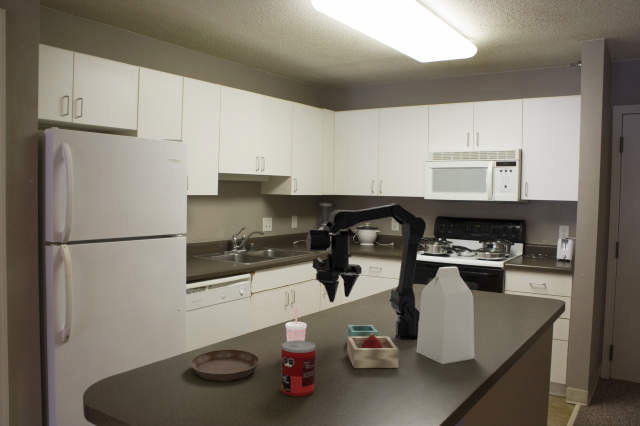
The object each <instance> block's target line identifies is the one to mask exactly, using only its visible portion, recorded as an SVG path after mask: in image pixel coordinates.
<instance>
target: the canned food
mask: <svg viewBox="0 0 640 426" xmlns="http://www.w3.org/2000/svg"><path fill="white" fill-rule="evenodd" d="M316 348H317V347H316V344H315V343H313V342H310V341H308V340H307V341H306V340H305V341H288V342H287V341H285V342H283V343H282V345H281V358H280V359H281V360H280V361H281V363H280V364H281V365H280V366H281V367H280V370H281V371H280V389H281V392H282V393H283V394H285V395H286V394H287V396H291V397H305V396H310V395H311V394H312V393H313V392H314V390H315V382H316V381H315V378H316V377H315V376H316Z"/></svg>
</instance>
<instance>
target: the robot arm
mask: <svg viewBox="0 0 640 426" xmlns="http://www.w3.org/2000/svg"><path fill="white" fill-rule="evenodd" d="M386 218H392V219H393V220H394V221H395V222H396V223H397V224H399V225H400V227H401V236H402V239H403V240H402V241H403V246H402V247H403V248H402V253H401V254H402V256H401V261H400V262H401V263H400V272H399V277H398V278H399V279H398V284H397V287H396V288H395V289H391V291H390V299H389V303H390V304H391V308H392V309H393V310H394V311H395V314H396V316H397V320H396V322H395V335H397V337H398V338H399V339H400V340H408V339H409V340H412V339H414V340H417V339H418V328H419V317H420V310H418V308H417V307H416V295H415V293H414V280H415V272H416V265H417V257H418V250H419V249H418V248H419V245H420V242H421V241H422V240H423V238H424V236H425V231H426V228H427V223H426V221H425V220H424V219H423V218H422V217H420V216H416V215H414V213H412V212H410V211H408V210H407V209H405V208H404V207H403V206H402V205H400V204H398V203H389V204H386V205H381V206H375V207H368V208H364V209H358V210H356V209H355V210H348V209H345V210H343V209H335V210H333V211H331V213H330V215H329V217H328V221H327V222H326V224H324V227H323V228H322V229H312V228H309V229H308V232H307V236H306V239H305V242H306V243H305V244H306V249H307V251H308V252H325V251H327V250H328V249H330V253H328V254H327V255H326V258H324V259H321V257H316V258H313V259H312V268H313V269H314V270H316V271H315V272H316V273H315V281H318V283H321V285H323V286H324V288H325V291H326V294H327V297H328V301H329V303H334V302H335V298H336V295H337V292H338V288H339V284H340V281H339V278H340V277H341V278H342V280H343V291H344V297H346V298H349V296H350V294H351V292H352V290H353V288H354V286H355V285H356V284H355V283H356V282H357V280H358V278H359V277H360V275H361V274H362V272H363V271H362V267H361V265H360V264H355V263H349V261H350V260H349V259H350V258H351V257H352V253H350V250H349V249H350V248H349V247H350V237H356V233H355V232H354V231H353V230H352V229H351V228H352V227H354V226H356V225H358V224H361V223H363V222H369V221H376V220H380V219H386Z"/></svg>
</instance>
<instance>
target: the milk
mask: <svg viewBox="0 0 640 426" xmlns="http://www.w3.org/2000/svg"><path fill="white" fill-rule="evenodd" d="M419 312H420V317H419V324H418V339H416V340H417V341H416V351H415V352H416V353H417V354H420V355H422V356H424V357H426V358H429V359H431V360H433V361H435V362H437V363H439V364H441V365H445V364H450V363H456V362H461V361H468V360H473V359H475V326H474V325H475V319H474V318H475V317H474V312H475V311H474V295H473V293H472V291H471V289H470V288H469V286H468V284H467V283H466V282H465V281H464V280H463V278H462V276H461V275H460V271H459V267H457V266H443V267H438V270H437V272H436V274H435V277H433V279H432V280H431V281H429V282H428V283H427V284H426V285H425V286H424V287H423V289H422V290H421V296H420V308H419Z"/></svg>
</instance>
